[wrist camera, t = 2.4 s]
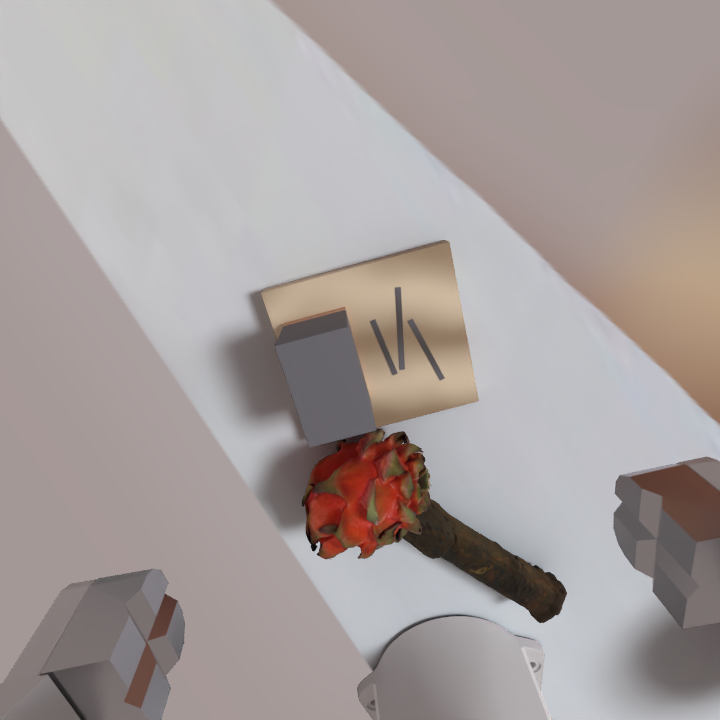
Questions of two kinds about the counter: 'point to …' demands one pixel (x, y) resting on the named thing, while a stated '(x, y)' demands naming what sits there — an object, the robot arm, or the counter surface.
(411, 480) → the dragon fruit
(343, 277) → the pine board
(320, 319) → the block
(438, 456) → the counter surface
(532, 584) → the dark brown rough rod
